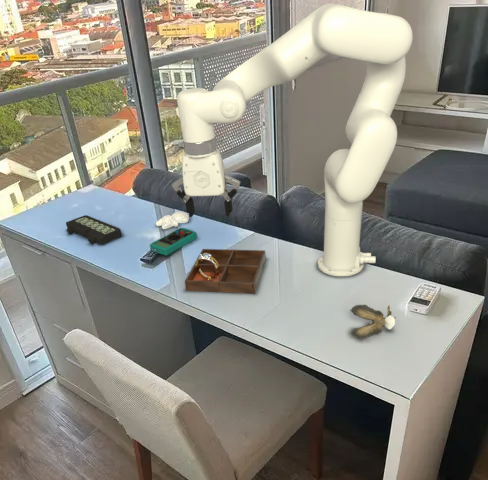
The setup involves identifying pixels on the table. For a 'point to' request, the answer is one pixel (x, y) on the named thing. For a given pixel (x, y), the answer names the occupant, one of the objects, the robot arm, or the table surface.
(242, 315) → the table surface
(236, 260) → the tray
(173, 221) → the astronaut figurine
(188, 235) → the digital multimeter
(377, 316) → the eagle figurine
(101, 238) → the digital display
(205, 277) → the ring
